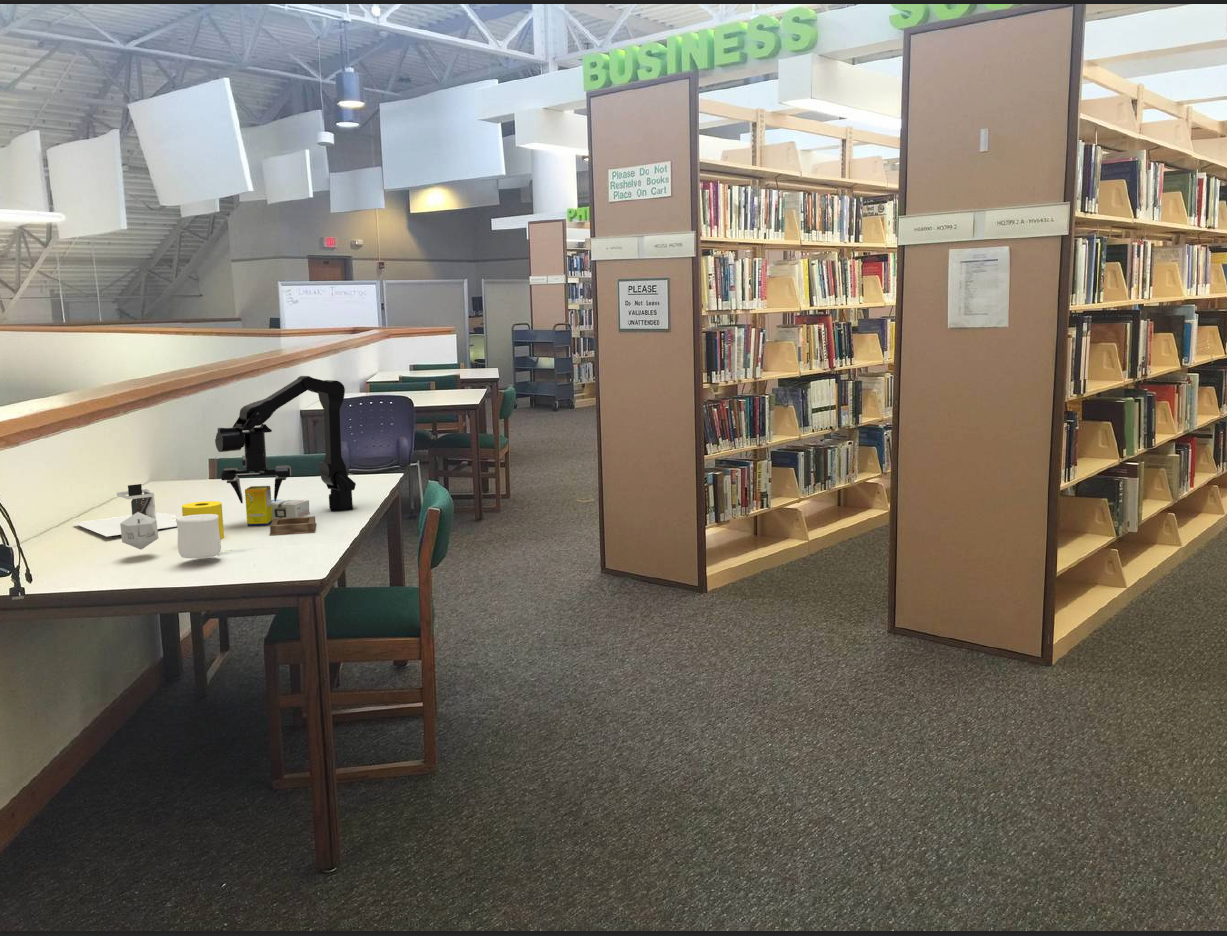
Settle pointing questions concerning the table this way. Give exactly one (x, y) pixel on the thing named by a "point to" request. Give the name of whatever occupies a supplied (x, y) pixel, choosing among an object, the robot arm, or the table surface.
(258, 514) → the supplement box
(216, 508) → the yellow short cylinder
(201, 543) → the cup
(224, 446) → the robot arm
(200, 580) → the table surface
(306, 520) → the base
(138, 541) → the die
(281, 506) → the ink box
